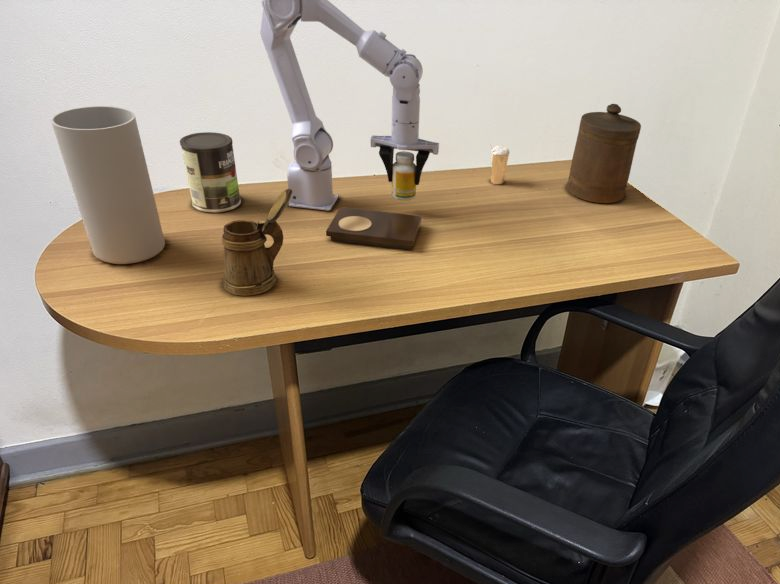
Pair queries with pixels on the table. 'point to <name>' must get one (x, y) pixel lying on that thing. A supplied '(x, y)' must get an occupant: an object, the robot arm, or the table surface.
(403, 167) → the supplement bottle
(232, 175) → the coffee can
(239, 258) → the wooden mug
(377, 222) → the stand
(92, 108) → the cylinder vase
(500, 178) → the milkshake
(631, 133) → the wooden container
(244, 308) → the table surface
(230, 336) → the table surface
